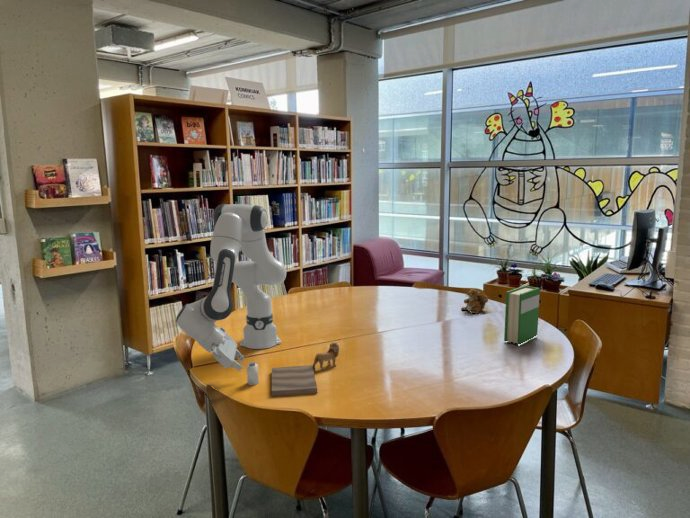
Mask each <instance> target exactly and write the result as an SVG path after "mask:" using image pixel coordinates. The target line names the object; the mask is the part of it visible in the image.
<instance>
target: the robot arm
mask: <svg viewBox="0 0 690 518" xmlns="http://www.w3.org/2000/svg"><path fill="white" fill-rule="evenodd" d="M212 215H213V216H212V217H213V218H212V220H213V223H214V228H213V232H212V235H211V241H210V252H209V254H210V257H211V259H212V260H213V261H214V264H215V271H214V278H213V283H212V288H211V290H210V292H209V294H208V295H205V297H204V296H203V298H201V299H199V300H197V301H196V300H195V301H194V302H191V303H186V304H184V305H183V307H181V309H180V311H179V312H178V313H177V315H176V317H175V321H176V325H177V326H178V327H179V328H180V329H181V330H182V331H183V332H184V333H185V334H186V335H187V336H188V337H190V338H192V339H194V340H195V341H196V342H197V345H199V346H201V347H202V348H203V349H204V350H205V351H206V352H208V353H212V354H211V355H212V357H213V358H214V359H215V360H216V361H217V362H218V363H219V364H220V365H221V366H222V367H224V368H226V369H228V368H230V367H232V368H235V369H236V370H237V371H240V372H241V370H242V369H243V364H241V363H240V362H243V360H245V356H244V355H243V354H241V352H240V351H239V350H238V349H237V348H238V343H237V342H236V341H235V340H234V339H233V338H232V337H231V336H230V335H229V334H228V333H227V332H226V330H225V329H224V327H218V326H217V325H216V324H215V323H216V322H217V321H222V320H225V319H227V318H228V317H229V316H231V314H232V312H233V308H234V300H233V298H232V283H233V284H235V285H236V286H237V287H238V288H239V289H240V290H241V292H242V293H243V295H244V298H245V305H246V317H245V320H246V324H245V326H244V327H243V339H242V340H241V341H240V342H239V346H240V347H245V348H247V349H250V350H252V349H253V350H264V349H269V348H273V347H274V346H276V345H280V344H282V340H281V338H280V337H279V336H278V332H277V326H276V324H274V322H273V321H274V316H273V313H272V310H273V309H272V298H271V297H270V295H269V294H268V293H266V292H265V291H262V290H261V289H260V287H259V286H275V285H280V284H282V283H284V281H285V280H286V277H287V268H286V266H285V265H284V263H283V262H281V261H279V260H278V259H277V258H275V257H274V255H272V253H271V252H270V250H269V247H268V244H267V238H266V231H265V229H266V226H267V224H268V212H267V211H266V209H265V208H264V207H263V206H260V205H251V204H248V203H247V204H246V203H235V204H234V203H232V204H231V203H230V204H227V203H221V204H219V205H217V207H216V208H214V210H213V213H212ZM240 250H241V253H242V254H243V255H244V257H246V258H248V259H249V260H241V261H237V258H238V257H239V253H240ZM235 357H236V359H237V360H235ZM237 361H239V362H237Z"/></svg>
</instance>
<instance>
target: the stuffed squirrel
mask: <svg viewBox="0 0 690 518" xmlns="http://www.w3.org/2000/svg"><path fill="white" fill-rule="evenodd" d="M480 292H481V291H480V290H477V289H475V288H470V289H469V291H468V292H467V293H466V294H465V297H468V298H466V299H464V300H463V303H464V304H465V305H466V306H463V307H461V308H460V310H461V311H462V310H468V311H467V312H469V311H471V312H470V313H471V314H472V313H477V312H479V311H480V310H481V311H483V310H484V309H485V305H486V304H487V303H488V302H489V296H488V295H486V294H485V293H480ZM481 311H480V312H481ZM480 312H479V313H480ZM477 314H478V313H477Z"/></svg>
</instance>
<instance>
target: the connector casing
mask: <svg viewBox="0 0 690 518" xmlns="http://www.w3.org/2000/svg"><path fill="white" fill-rule="evenodd" d="M258 365H259V364H258V363H256V362H255V361H251V362H249V363H248V364H247V365H246V375H247V377H246V378H247V385H249V386H256V385H258V384H259V366H258Z"/></svg>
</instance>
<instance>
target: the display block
mask: <svg viewBox="0 0 690 518" xmlns="http://www.w3.org/2000/svg"><path fill="white" fill-rule="evenodd" d="M309 394H310V395H311V394H312V395H313V394H318V386H317V380H316V375H315V371H313V364H311V365H309V364H308V365H297V366H296V365H294V366H277V367H271V397H283V396H296V395H297V396H299V395H309Z"/></svg>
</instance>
